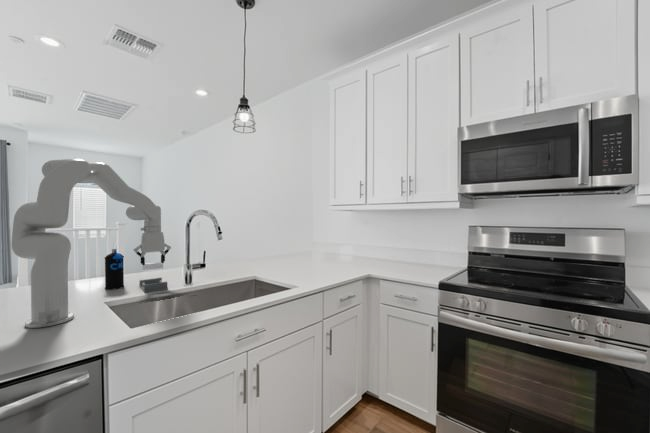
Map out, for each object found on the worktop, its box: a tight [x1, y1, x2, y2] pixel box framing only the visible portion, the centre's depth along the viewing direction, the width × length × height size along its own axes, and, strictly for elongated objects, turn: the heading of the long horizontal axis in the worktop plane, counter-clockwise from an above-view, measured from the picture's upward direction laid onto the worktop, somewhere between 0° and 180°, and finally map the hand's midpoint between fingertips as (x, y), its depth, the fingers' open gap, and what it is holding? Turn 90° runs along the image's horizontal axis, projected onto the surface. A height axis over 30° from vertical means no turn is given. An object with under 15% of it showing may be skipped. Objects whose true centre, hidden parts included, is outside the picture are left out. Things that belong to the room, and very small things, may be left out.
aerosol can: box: [104, 248, 125, 291], centre depth 150 cm, size 8×8×20 cm
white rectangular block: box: [142, 261, 164, 271], centre depth 149 cm, size 5×9×3 cm, turn 120°
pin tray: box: [138, 277, 169, 294], centre depth 149 cm, size 16×10×4 cm, turn 40°
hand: (153, 263), depth 149 cm, fingers closed on white rectangular block, 8 cm apart
